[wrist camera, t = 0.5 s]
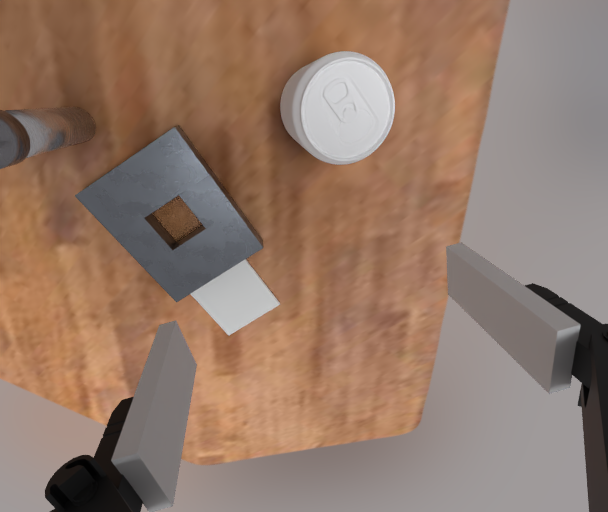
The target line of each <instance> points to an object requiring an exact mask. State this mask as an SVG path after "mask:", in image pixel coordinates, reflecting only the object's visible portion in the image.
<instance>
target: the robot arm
mask: <svg viewBox="0 0 608 512" xmlns="http://www.w3.org/2000/svg"><path fill="white" fill-rule="evenodd" d="M446 253H447V278H448V295H449V296H450V297H452V299H454V300H455V301H456V302H457V303H458V304H459V305H460V306H461V307H462V308H463V309H464V310H465V311H466V312H467V313H468V314H469V315H470V316H471V317H472V318H473V319H474V320H475V321H476V322H477V323H478V324H479V325H480V326H481V327H482V328H483V329H484V330H485V331H486V332H487V333H488V334H489V335H490V336H491V337H492V338H493V339H494V340H495V341H496V342H497V343H498V344H499V345H500V346H501V347H502V348H503V349H504V350H505V351H506V352H507V353H508V354H509V355H510V356H511V357H512V358H513V359H514V360H516V362H517V363H518V364H519V365H521V366H522V368H523V369H524V370H525V371H527V372H528V373H529V374H530V375H531V376H532V377H533V378H534V379H535V380H536V381H537V382H538V383H539V384H540V385H541V386H542V387H543V388H544V389H545V390H546V391H547V392H548V393H549V394H550V393H553V392H557V391H560V390H564V389H567V388H570V384H571V378H572V375H573V376H575V377H576V378H577V379H578V380H579V381H580V382H582V385H581V390H580V396H579V401H578V406H581V407H582V417H583V431H584V445H585V459H586V473H587V487H588V501H589V512H608V324H601V323H600V322H598V321H597V320H595V319H594V318H592V317H591V316H589V315H588V314H586V313H584V312H583V311H581V310H580V309H578V308H577V307H575V306H574V305H572V304H570V303H568V302H567V301H566V300H564V299H563V298H561V297H560V298H559V296H558V295H557V294H555V293H554V292H552V291H550V290H549V289H547V288H544V287H541V286H539V285H536V284H533V283H532V284H529V285H525V286H524V285H522V284H521V283H520V282H518V281H516V280H515V279H514V278H512V277H511V276H509V275H508V274H506V273H505V272H504V271H502V270H501V269H499V268H498V267H496V266H495V265H493V264H492V263H490V262H489V261H488V260H486V259H485V258H483V257H482V256H480V255H479V254H477V253H476V252H475V251H473V250H472V249H470V248H469V247H467V246H466V245H464V244H463V243H458V244H454V245H450V246H447V247H446ZM196 366H197V364H196V362H195V360H194V358H193V356H192V353H191V351H190V349H189V347H188V345H187V343H186V341H185V339H184V337H183V334H182V332H181V330H180V328H179V326H178V324H177V322H176V321H172V322H169V323H165V324H161V325H159V328H158V331H157V333H156V336H155V339H154V342H153V345H152V347H151V350H150V353H149V356H148V359H147V361H146V364H145V367H144V370H143V373H142V375H141V378H140V381H139V384H138V387H137V389H136V392H135V395H134V397H131V398H128V399H124V400H122V401H121V402H120V403H119V405H118V406H117V407H116V408H115V410H114V411H113V412H112V414H111V417H110V419H109V422H108V424H107V428H106V429H105V432H104V434H103V438H102V439H101V441H100V444H99V447H98V449H97V451H96V453H95V456H94V458H93V457H91V456H90V455H81V456H78V457H76V458H73V459H72V460H70V461H68V462H67V463H65V464H64V465H63V466H62V467H61V468H60V469H58V470H57V471H56V472H55V473H54V475H53V476H52V478H51V479H50V481H49V482H48V484H47V487H46V489H45V498H46V499H47V500H48V501H49V502H50V503H51V504H52V505H53V506H54V507H55V509H54V510H52V511H50V512H140V511H141V507H142V503H143V504H144V506H145V507H146V508H147V510H148V511H149V512H154V511H157V510H161V509H164V508H168V507H171V506H173V502H174V497H175V491H176V485H177V479H178V473H179V467H180V461H181V455H182V449H183V443H184V438H185V432H186V426H187V420H188V414H189V408H190V402H191V396H192V390H193V384H194V378H195V372H196Z"/></svg>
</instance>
